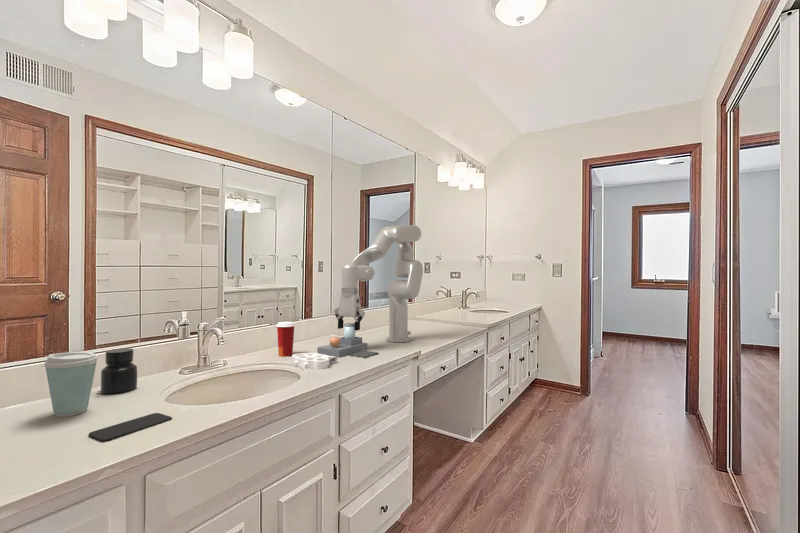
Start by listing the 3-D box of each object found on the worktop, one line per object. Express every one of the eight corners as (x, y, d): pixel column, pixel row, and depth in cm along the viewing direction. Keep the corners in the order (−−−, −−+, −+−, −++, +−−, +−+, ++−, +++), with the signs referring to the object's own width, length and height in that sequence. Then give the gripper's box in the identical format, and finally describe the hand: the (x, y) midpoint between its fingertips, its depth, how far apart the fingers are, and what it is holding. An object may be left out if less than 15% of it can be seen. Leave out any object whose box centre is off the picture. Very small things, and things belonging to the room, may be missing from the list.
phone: (174, 417, 94) (103, 440, 81) (174, 421, 94) (103, 444, 81) (156, 412, 98) (86, 433, 84) (156, 415, 98) (86, 437, 84)
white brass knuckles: (343, 364, 151) (314, 372, 139) (312, 358, 161) (283, 365, 150) (343, 356, 151) (314, 363, 139) (312, 350, 161) (283, 356, 150)
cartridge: (348, 342, 180) (348, 322, 180) (357, 343, 177) (357, 323, 177) (341, 343, 176) (341, 323, 176) (350, 344, 173) (350, 324, 173)
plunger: (334, 351, 171) (334, 336, 171) (342, 352, 169) (342, 337, 169) (327, 353, 167) (327, 338, 167) (335, 354, 165) (335, 339, 165)
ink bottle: (141, 384, 122) (142, 346, 123) (134, 392, 114) (134, 352, 114) (104, 387, 119) (105, 348, 119) (94, 396, 111) (94, 354, 111)
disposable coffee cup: (92, 402, 106) (92, 347, 106) (103, 411, 99) (104, 353, 99) (39, 413, 97) (40, 353, 97) (47, 424, 90) (48, 360, 91)
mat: (364, 351, 173) (364, 350, 173) (378, 353, 168) (378, 352, 168) (349, 355, 164) (350, 354, 164) (365, 358, 160) (365, 356, 160)
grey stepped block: (347, 346, 184) (347, 335, 184) (367, 349, 178) (367, 337, 178) (317, 354, 167) (317, 341, 167) (338, 357, 161) (338, 344, 161)
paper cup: (297, 353, 168) (297, 321, 168) (290, 357, 161) (291, 324, 161) (280, 353, 169) (280, 321, 169) (272, 357, 161) (273, 323, 162)
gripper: (369, 292, 175) (368, 330, 175) (340, 291, 184) (339, 327, 184) (359, 292, 169) (358, 332, 168) (329, 291, 178) (328, 328, 177)
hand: (348, 329), depth 176 cm, fingers open, 9 cm apart
